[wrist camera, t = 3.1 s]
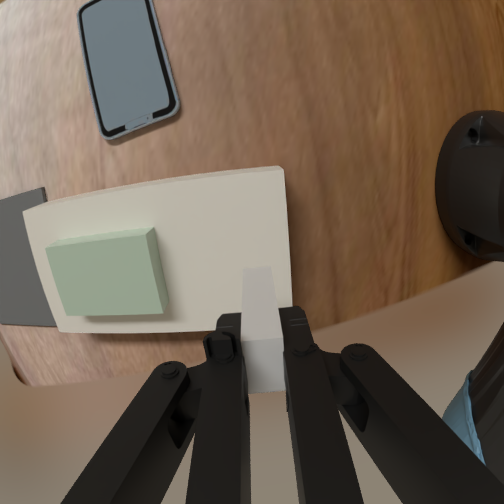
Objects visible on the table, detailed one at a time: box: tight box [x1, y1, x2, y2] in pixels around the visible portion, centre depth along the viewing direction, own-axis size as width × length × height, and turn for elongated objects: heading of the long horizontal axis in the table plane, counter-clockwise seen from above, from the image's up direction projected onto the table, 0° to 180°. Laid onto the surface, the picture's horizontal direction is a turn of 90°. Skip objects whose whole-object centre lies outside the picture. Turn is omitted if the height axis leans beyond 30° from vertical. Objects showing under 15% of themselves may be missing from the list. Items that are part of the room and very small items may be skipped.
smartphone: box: [77, 0, 180, 140], centre depth 20 cm, size 7×1×15 cm
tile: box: [45, 227, 169, 316], centre depth 22 cm, size 9×6×2 cm, turn 96°
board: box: [22, 166, 292, 333], centre depth 25 cm, size 22×12×4 cm, turn 96°
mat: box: [0, 187, 57, 326], centre depth 27 cm, size 15×15×1 cm
